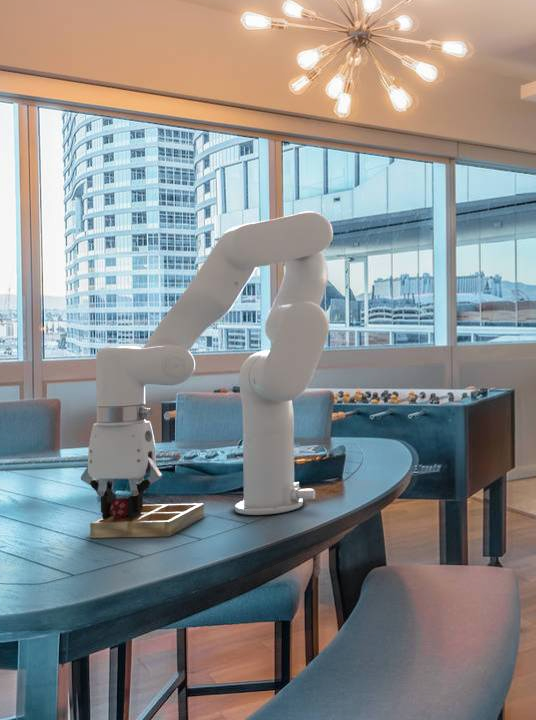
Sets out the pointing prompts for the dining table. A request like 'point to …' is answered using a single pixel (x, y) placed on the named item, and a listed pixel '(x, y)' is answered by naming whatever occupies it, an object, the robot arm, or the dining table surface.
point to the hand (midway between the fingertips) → (121, 515)
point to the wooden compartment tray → (149, 521)
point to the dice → (119, 508)
